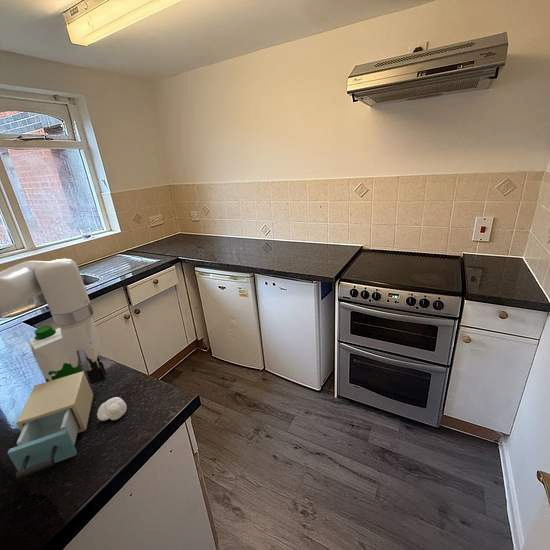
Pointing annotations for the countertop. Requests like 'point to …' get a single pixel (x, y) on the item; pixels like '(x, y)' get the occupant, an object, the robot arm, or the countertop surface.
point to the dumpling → (112, 409)
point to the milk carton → (51, 354)
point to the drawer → (45, 442)
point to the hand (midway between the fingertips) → (99, 378)
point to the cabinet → (59, 400)
